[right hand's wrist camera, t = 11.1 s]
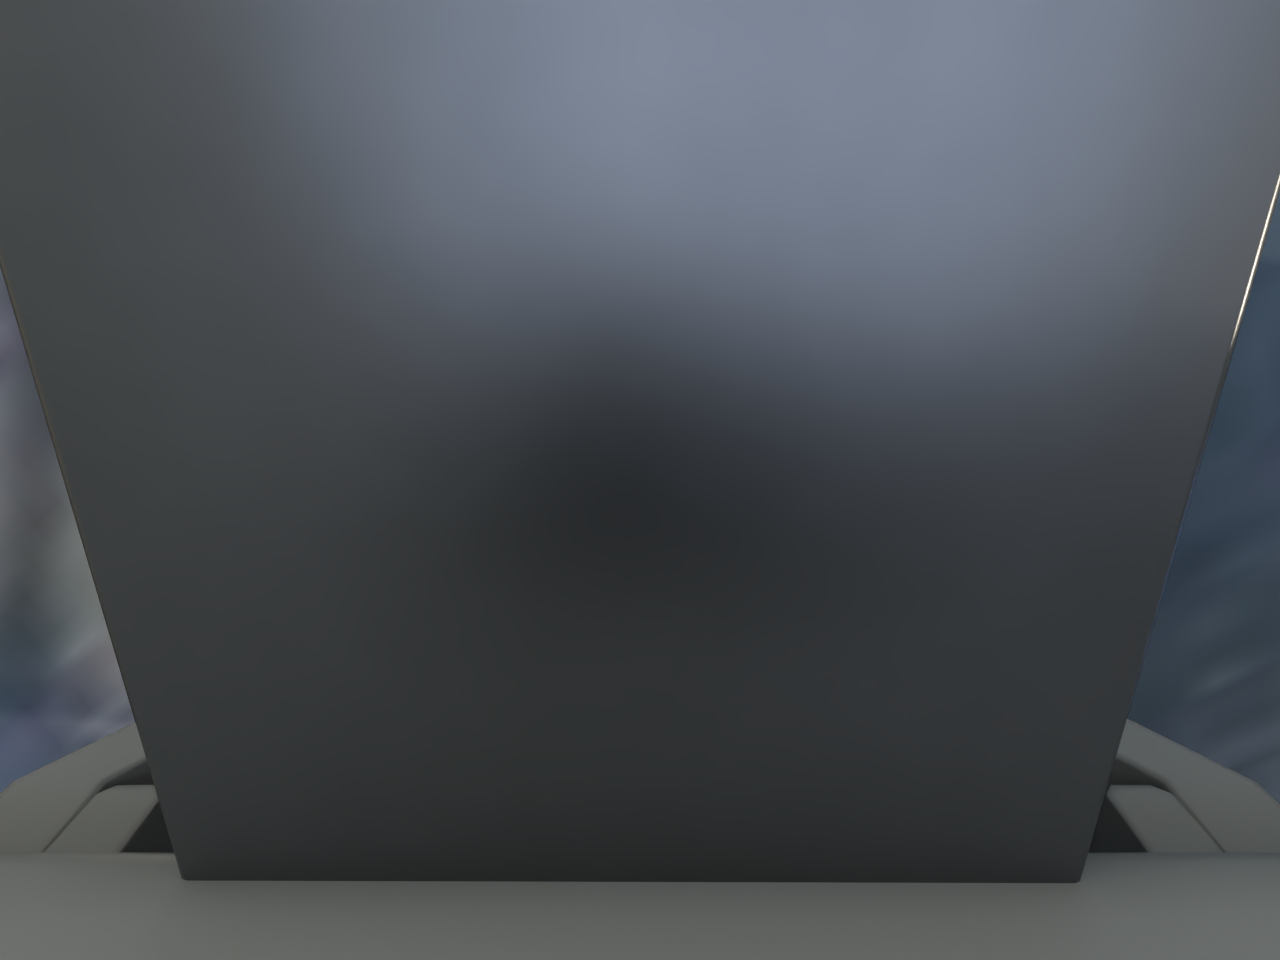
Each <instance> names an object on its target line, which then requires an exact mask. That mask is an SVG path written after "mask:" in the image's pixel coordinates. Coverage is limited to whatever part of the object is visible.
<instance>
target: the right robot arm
mask: <svg viewBox="0 0 1280 960" xmlns="http://www.w3.org/2000/svg"><path fill="white" fill-rule="evenodd" d="M0 960H1280V804H1279V803H1278V802H1277V801H1276V800H1275V799H1274V798H1273V797H1272V796H1271V795H1270V794H1269V793H1268V792H1267V791H1266V790H1265V789H1264V788H1263V787H1262V786H1261V785H1260V784H1259V783H1257V782H1255V781H1253V780H1251V779H1249V778H1247V777H1245V776H1243V775H1241V774H1239V773H1237V772H1235V771H1233V770H1231V769H1229V768H1227V767H1225V766H1223V765H1221V764H1219V763H1217V762H1215V761H1213V760H1211V759H1209V758H1206V757H1204V756H1202V755H1200V754H1198V753H1196V752H1194V751H1192V750H1190V749H1188V748H1186V747H1184V746H1182V745H1180V744H1178V743H1176V742H1174V741H1172V740H1170V739H1168V738H1166V737H1164V736H1162V735H1160V734H1158V733H1156V732H1154V731H1152V730H1150V729H1148V728H1146V727H1144V726H1141V725H1139V724H1137V723H1135V722H1133V721H1131V720H1129V719H1127V720H1126V724H1125V727H1124V731H1123V734H1122V737H1121V741H1120V744H1119V748H1118V751H1117V755H1116V758H1115V762H1114V765H1113V769H1112V772H1111V775H1110V779H1109V782H1108V786H1107V789H1106V793H1105V796H1104V800H1103V803H1102V807H1101V810H1100V813H1099V817H1098V820H1097V824H1096V827H1095V831H1094V834H1093V838H1092V841H1091V845H1090V848H1089V851H1088V855H1087V858H1086V862H1085V865H1084V869H1083V872H1082V876H1081V879H1080V881H1079V882H1077V883H829V882H499V881H187V880H184V879H182V878H181V874H180V871H179V868H178V864H177V861H176V857H175V854H174V851H173V847H172V844H171V841H170V837H169V834H168V830H167V827H166V824H165V820H164V817H163V813H162V810H161V807H160V803H159V800H158V797H157V793H156V790H155V786H154V783H153V780H152V776H151V773H150V770H149V766H148V763H147V759H146V756H145V753H144V749H143V746H142V743H141V739H140V736H139V732H138V729H137V726H136V722H135V723H133V724H131V725H128V726H126V727H124V728H122V729H120V730H118V731H116V732H114V733H112V734H110V735H108V736H106V737H104V738H102V739H100V740H98V741H96V742H93V743H91V744H89V745H87V746H85V747H83V748H81V749H79V750H77V751H75V752H73V753H71V754H69V755H67V756H65V757H63V758H61V759H58V760H56V761H54V762H52V763H50V764H48V765H46V766H44V767H42V768H40V769H38V770H36V771H34V772H32V773H30V774H28V775H26V776H23V777H21V778H19V779H17V780H15V781H13V782H12V783H11V784H10V785H9V786H8V787H7V788H6V789H5V790H4V791H3V792H2V793H1V794H0Z"/></svg>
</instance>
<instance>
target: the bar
mask: <svg viewBox="0 0 1280 960" xmlns="http://www.w3.org/2000/svg"><path fill="white" fill-rule="evenodd" d="M1279 192H1280V0H0V266H1V270H2V273H3V276H4V280H5V283H6V287H7V290H8V293H9V297H10V300H11V303H12V307H13V310H14V314H15V317H16V320H17V324H18V327H19V331H20V334H21V337H22V341H23V344H24V347H25V351H26V354H27V358H28V361H29V364H30V368H31V371H32V374H33V378H34V381H35V385H36V388H37V391H38V395H39V398H40V401H41V405H42V408H43V412H44V415H45V418H46V422H47V425H48V428H49V432H50V435H51V439H52V442H53V445H54V449H55V452H56V455H57V459H58V462H59V466H60V469H61V472H62V476H63V479H64V482H65V486H66V489H67V493H68V496H69V499H70V503H71V506H72V510H73V513H74V516H75V520H76V523H77V526H78V530H79V533H80V537H81V540H82V543H83V547H84V550H85V553H86V557H87V560H88V564H89V567H90V570H91V574H92V577H93V580H94V584H95V587H96V591H97V594H98V597H99V601H100V604H101V607H102V611H103V614H104V618H105V621H106V624H107V628H108V631H109V634H110V638H111V641H112V645H113V648H114V651H115V655H116V658H117V662H118V665H119V668H120V672H121V675H122V678H123V682H124V685H125V689H126V692H127V695H128V699H129V702H130V705H131V709H132V712H133V716H134V719H135V722H136V726H137V729H138V732H139V736H140V739H141V743H142V746H143V749H144V753H145V756H146V759H147V763H148V766H149V770H150V773H151V776H152V780H153V783H154V786H155V790H156V793H157V797H158V800H159V803H160V807H161V810H162V813H163V817H164V820H165V824H166V827H167V830H168V834H169V837H170V841H171V844H172V847H173V851H174V854H175V857H176V861H177V864H178V868H179V871H180V874H181V878H182V879H184V880H187V881H499V882H829V883H1077V882H1079V881H1080V879H1081V876H1082V872H1083V869H1084V865H1085V862H1086V858H1087V855H1088V851H1089V848H1090V845H1091V841H1092V838H1093V834H1094V831H1095V827H1096V824H1097V820H1098V817H1099V813H1100V810H1101V807H1102V803H1103V800H1104V796H1105V793H1106V789H1107V786H1108V782H1109V779H1110V775H1111V772H1112V769H1113V765H1114V762H1115V758H1116V755H1117V751H1118V748H1119V744H1120V741H1121V737H1122V734H1123V731H1124V727H1125V724H1126V720H1127V717H1128V713H1129V710H1130V706H1131V703H1132V699H1133V696H1134V693H1135V689H1136V686H1137V682H1138V679H1139V675H1140V672H1141V668H1142V665H1143V661H1144V658H1145V655H1146V651H1147V648H1148V644H1149V641H1150V637H1151V634H1152V630H1153V627H1154V623H1155V620H1156V617H1157V613H1158V610H1159V606H1160V603H1161V599H1162V596H1163V592H1164V589H1165V585H1166V582H1167V579H1168V575H1169V572H1170V568H1171V565H1172V561H1173V558H1174V554H1175V551H1176V547H1177V544H1178V541H1179V537H1180V534H1181V530H1182V527H1183V523H1184V520H1185V516H1186V513H1187V509H1188V506H1189V502H1190V499H1191V496H1192V492H1193V489H1194V485H1195V482H1196V478H1197V475H1198V471H1199V468H1200V464H1201V461H1202V458H1203V454H1204V451H1205V447H1206V444H1207V440H1208V437H1209V433H1210V430H1211V426H1212V423H1213V420H1214V416H1215V413H1216V409H1217V406H1218V402H1219V399H1220V395H1221V392H1222V388H1223V385H1224V382H1225V378H1226V375H1227V371H1228V368H1229V364H1230V361H1231V357H1232V354H1233V350H1234V347H1235V344H1236V340H1237V337H1238V333H1239V330H1240V326H1241V323H1242V319H1243V316H1244V312H1245V309H1246V306H1247V302H1248V299H1249V295H1250V292H1251V288H1252V285H1253V281H1254V278H1255V274H1256V271H1257V268H1258V264H1259V261H1260V257H1261V254H1262V250H1263V247H1264V243H1265V240H1266V236H1267V233H1268V230H1269V226H1270V223H1271V219H1272V216H1273V212H1274V209H1275V205H1276V202H1277V198H1278V195H1279Z"/></svg>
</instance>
